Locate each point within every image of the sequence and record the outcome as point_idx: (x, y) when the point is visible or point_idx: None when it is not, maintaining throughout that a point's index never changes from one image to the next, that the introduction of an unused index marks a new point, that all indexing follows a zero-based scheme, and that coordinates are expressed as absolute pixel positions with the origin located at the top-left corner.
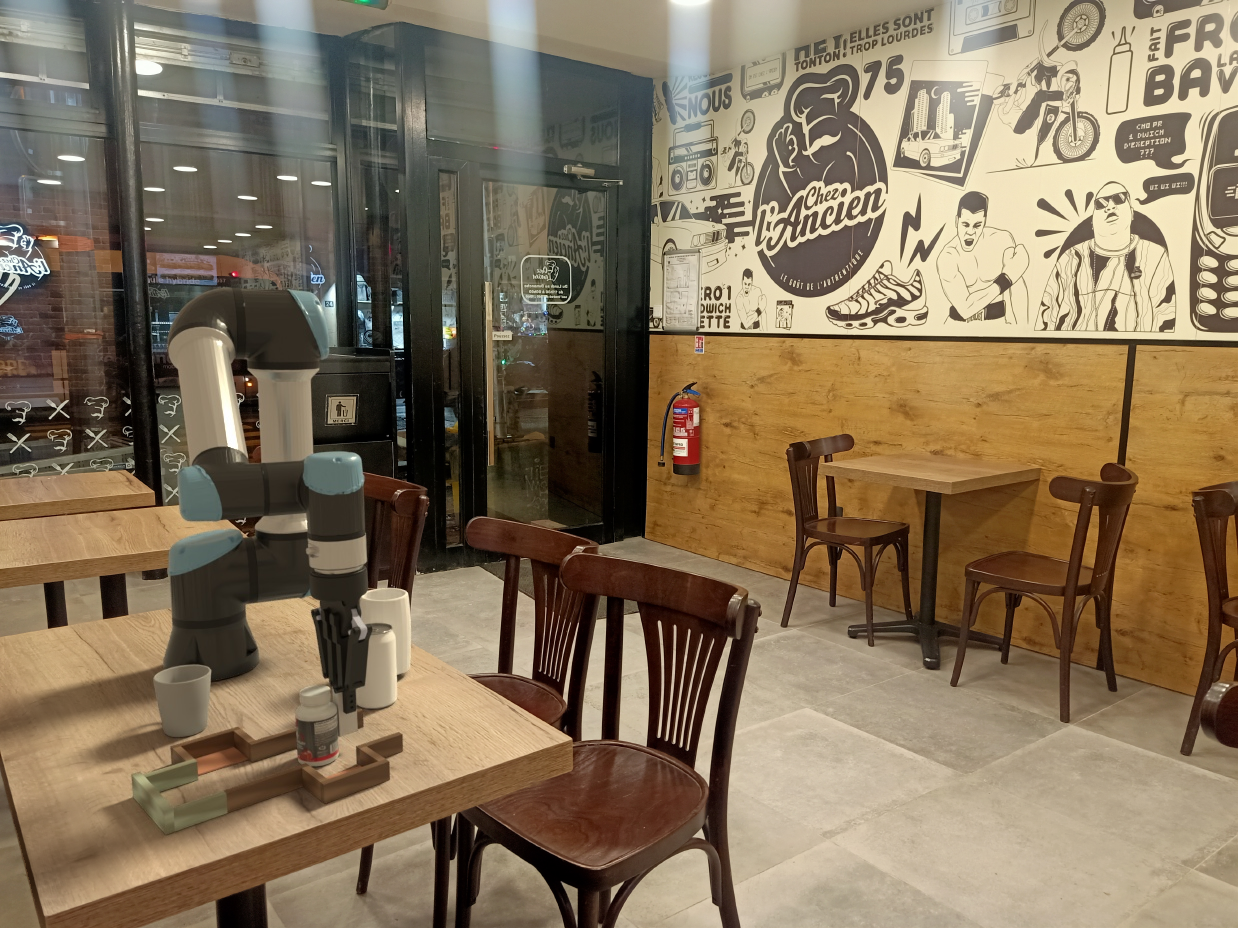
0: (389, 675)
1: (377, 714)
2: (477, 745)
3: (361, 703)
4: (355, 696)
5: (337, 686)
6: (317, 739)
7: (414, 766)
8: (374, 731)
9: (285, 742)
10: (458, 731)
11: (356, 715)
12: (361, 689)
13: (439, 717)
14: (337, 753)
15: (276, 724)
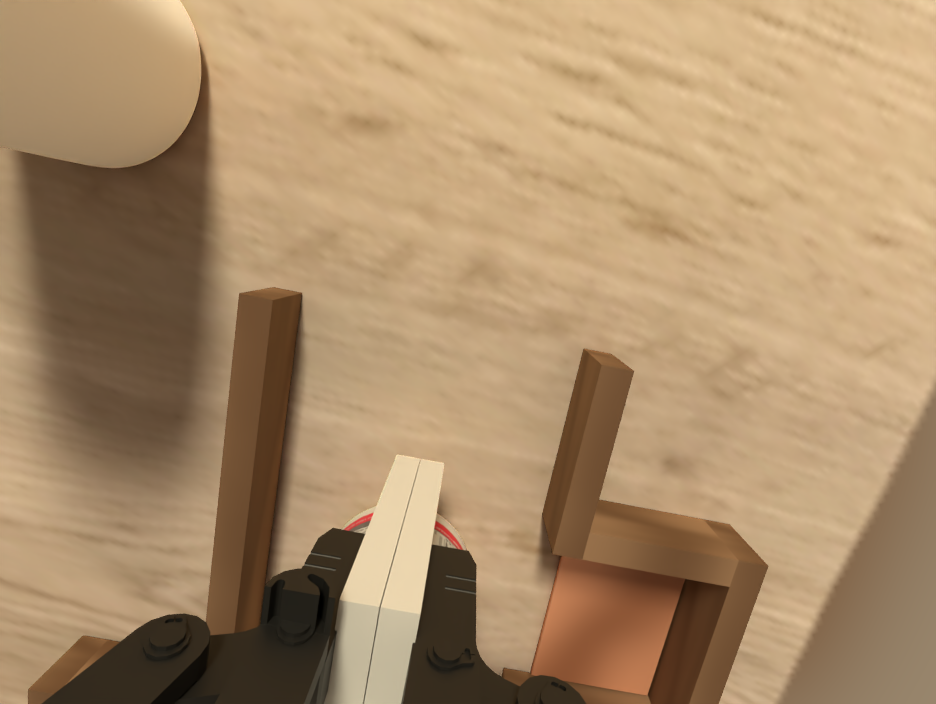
0: None
1: (240, 167)
2: (848, 130)
3: (114, 165)
4: (473, 618)
5: (327, 691)
6: None
7: (737, 413)
8: (376, 297)
9: (249, 610)
10: (682, 71)
11: (437, 501)
12: (57, 151)
13: (498, 6)
14: (458, 539)
15: (23, 477)
